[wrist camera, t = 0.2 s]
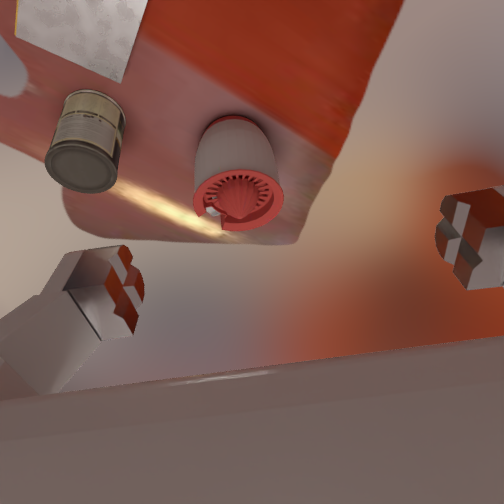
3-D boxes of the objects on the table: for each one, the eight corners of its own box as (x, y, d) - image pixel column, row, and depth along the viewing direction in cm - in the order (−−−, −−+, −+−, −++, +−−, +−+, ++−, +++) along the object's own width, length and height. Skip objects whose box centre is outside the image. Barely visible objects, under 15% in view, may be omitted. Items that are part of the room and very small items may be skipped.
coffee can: (136, 131, 66) (129, 185, 58) (87, 144, 67) (73, 199, 60) (105, 81, 57) (91, 136, 50) (49, 97, 59) (27, 154, 51)
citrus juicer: (170, 146, 69) (166, 225, 58) (232, 87, 60) (241, 168, 49) (227, 184, 80) (232, 258, 69) (287, 138, 70) (305, 215, 59)
